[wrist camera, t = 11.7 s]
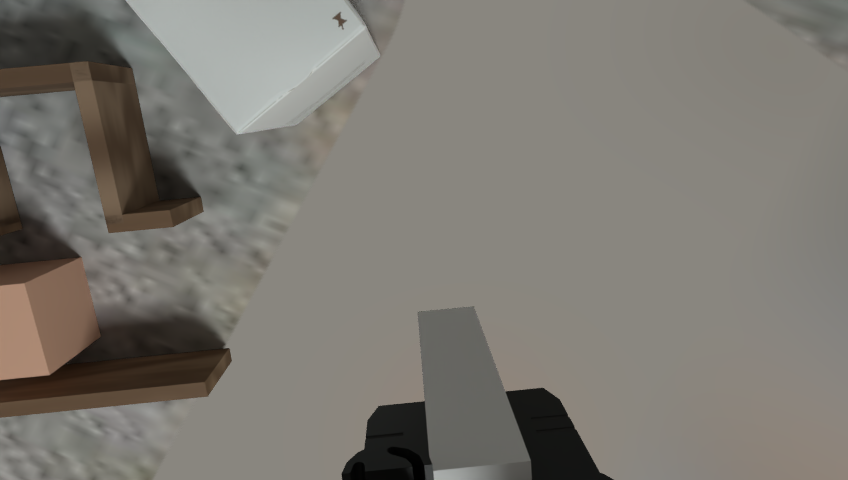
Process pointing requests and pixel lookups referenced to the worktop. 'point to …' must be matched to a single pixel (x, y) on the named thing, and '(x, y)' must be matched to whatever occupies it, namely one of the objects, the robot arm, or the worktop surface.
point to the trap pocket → (94, 131)
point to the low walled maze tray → (120, 376)
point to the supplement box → (263, 53)
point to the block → (44, 316)
